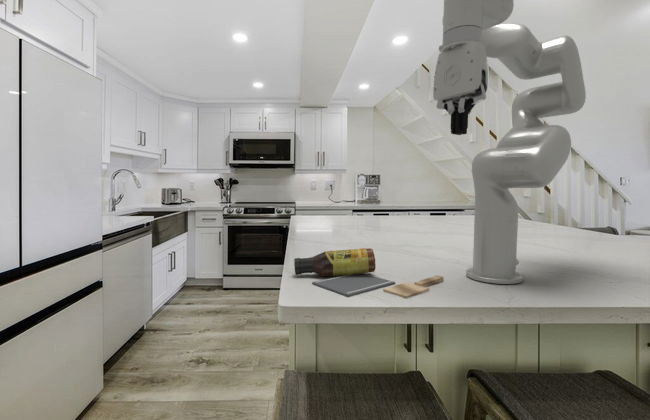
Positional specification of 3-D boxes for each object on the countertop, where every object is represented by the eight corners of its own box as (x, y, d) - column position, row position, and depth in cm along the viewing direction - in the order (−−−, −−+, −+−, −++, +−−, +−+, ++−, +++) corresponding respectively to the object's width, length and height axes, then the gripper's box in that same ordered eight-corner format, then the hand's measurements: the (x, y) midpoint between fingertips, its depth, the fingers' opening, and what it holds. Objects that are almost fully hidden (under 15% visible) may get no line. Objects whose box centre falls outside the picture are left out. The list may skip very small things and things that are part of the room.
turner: (429, 277, 85) (429, 273, 85) (451, 283, 80) (451, 278, 80) (383, 291, 74) (383, 287, 74) (406, 299, 70) (406, 294, 70)
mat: (358, 273, 89) (358, 271, 89) (395, 283, 80) (395, 281, 80) (311, 283, 79) (312, 281, 79) (348, 296, 70) (348, 294, 70)
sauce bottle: (376, 251, 83) (293, 258, 82) (377, 276, 84) (295, 283, 83) (370, 244, 90) (293, 251, 88) (371, 267, 91) (295, 274, 89)
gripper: (420, 50, 75) (418, 136, 76) (486, 24, 63) (482, 127, 64) (442, 58, 79) (440, 139, 80) (508, 35, 67) (503, 131, 68)
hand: (458, 133), depth 72 cm, fingers closed
